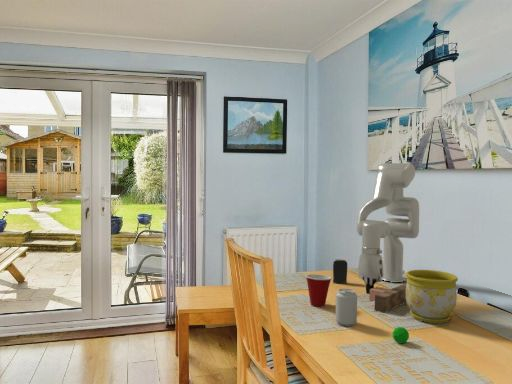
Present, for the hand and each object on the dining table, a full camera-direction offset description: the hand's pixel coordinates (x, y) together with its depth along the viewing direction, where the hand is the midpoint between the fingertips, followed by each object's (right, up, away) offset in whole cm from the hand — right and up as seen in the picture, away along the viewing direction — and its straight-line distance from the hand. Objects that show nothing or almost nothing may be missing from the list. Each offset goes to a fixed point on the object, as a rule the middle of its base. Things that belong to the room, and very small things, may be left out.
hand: (369, 293), depth 189 cm
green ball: (-3, -5, -49) cm, 50 cm away
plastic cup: (-24, -3, -10) cm, 26 cm away
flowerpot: (+16, -4, -25) cm, 30 cm away
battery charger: (-8, -1, +27) cm, 28 cm away
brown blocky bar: (+9, -3, -8) cm, 12 cm away
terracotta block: (+4, -3, -4) cm, 6 cm away
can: (-17, -4, -32) cm, 36 cm away
